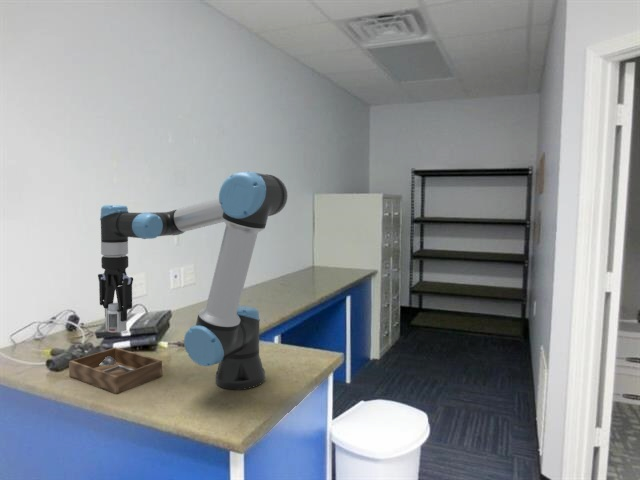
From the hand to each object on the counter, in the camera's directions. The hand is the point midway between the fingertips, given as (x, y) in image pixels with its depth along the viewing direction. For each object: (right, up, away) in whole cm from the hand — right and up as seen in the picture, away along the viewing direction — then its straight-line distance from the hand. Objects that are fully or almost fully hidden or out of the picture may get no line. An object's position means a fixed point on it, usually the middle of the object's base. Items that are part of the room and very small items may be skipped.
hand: (116, 329), depth 139 cm
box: (-1, -15, +2) cm, 15 cm away
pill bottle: (0, -1, 0) cm, 1 cm away
